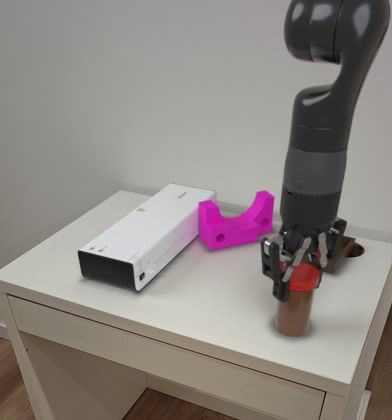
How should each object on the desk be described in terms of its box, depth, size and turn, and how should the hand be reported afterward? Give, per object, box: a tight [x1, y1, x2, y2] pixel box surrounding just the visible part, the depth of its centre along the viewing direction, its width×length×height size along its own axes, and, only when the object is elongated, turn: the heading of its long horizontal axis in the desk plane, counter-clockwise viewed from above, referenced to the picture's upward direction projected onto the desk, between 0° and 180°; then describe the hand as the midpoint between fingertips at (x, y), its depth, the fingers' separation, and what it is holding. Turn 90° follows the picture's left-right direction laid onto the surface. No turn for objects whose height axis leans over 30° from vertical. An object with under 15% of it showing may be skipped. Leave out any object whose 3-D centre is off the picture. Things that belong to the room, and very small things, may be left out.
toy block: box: [198, 189, 276, 251], centre depth 97 cm, size 15×6×8 cm, turn 113°
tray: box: [286, 234, 357, 275], centre depth 93 cm, size 12×12×2 cm
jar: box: [274, 288, 316, 337], centre depth 73 cm, size 5×5×9 cm
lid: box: [281, 263, 320, 292], centre depth 70 cm, size 6×6×2 cm
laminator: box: [77, 182, 217, 293], centre depth 94 cm, size 34×12×6 cm, turn 154°
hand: (296, 292), depth 72 cm, fingers closed on lid, 5 cm apart
